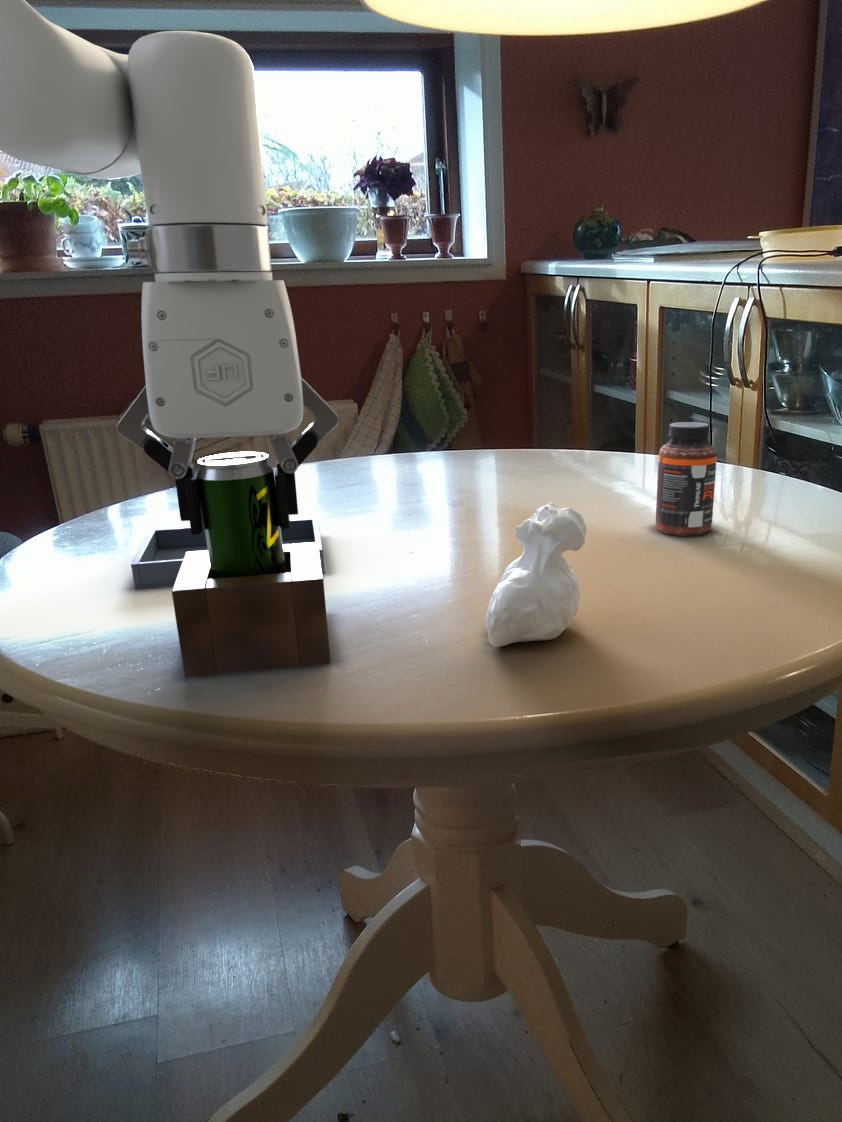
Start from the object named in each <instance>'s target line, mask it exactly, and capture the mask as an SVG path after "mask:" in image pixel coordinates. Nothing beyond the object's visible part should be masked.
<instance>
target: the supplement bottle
mask: <svg viewBox="0 0 842 1122" xmlns="http://www.w3.org/2000/svg"><path fill="white" fill-rule="evenodd" d="M668 430H669V432H668V436H669V438H670V440H669V441H668V442H666V443H665V444H663V445H662V446H661V447H660V449H659V452H658V463H657V481H656V482H657V484H656V502H655V503H656V505H655V528H656V530H658V531H659V532H660V533H663V534H665V535H671V536H678V537H679V536H680V537H695V536H701V535H705V534H707V533H710V531H711V530H712V525H713V524H712V523H713V517H714V502H715V486H716V474H717V473H716V472H717V458H718V452H717V449H716V447H715V446H713V445H712V444H711V442H710V441H709V437H710V425H709V424H708V423H705V422H700V421H699V422H696V421H679V422H672V423H670V424H669V429H668Z"/></svg>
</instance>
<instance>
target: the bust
mask: <svg viewBox="0 0 842 1122" xmlns="http://www.w3.org/2000/svg"><path fill="white" fill-rule="evenodd" d="M585 522H586V521H585V519H584V517H583V515H582V514H581V513H580V512H579V511H578V510H576V509H575V508H573V507H564V508H563V507H560V504H558V503H556V504H555V503H554V502H552V501H550V502H549V503H548V504H546V505H543V506H540V507H537V509H536V510H535V512H534V513H533V514H532V516H530V517H528V519H524V521H523V522H522V523H521V524H520V525H517V526H516V528H515V533H514V537H515V538H516V539H517V541H518V543H519V544H520V545H521V546H522V548H523V552H522V554H521V555H520V556H519V557H518V558H516V559H515V560H513V561H512V562H511V563H509V565H508V566H507V567H505V570H504V572H503V575H502V578H501V579H500V581H499V582H498V583H497V585H496V588H495V589H494V590H493V593H492V595H491V598H490V601H489V604H488V608H487V612H486V616H485V627H486V629H485V630H486V632H487V635H488V642H489V643H490V645H491V646H493V647H495V648H500V647H504V646H508V645H511V644H514V643H525V642H537V641H550V640H551V641H552V640H554V639H556V638H557V637H559V636H560V635H561V634H562V633H563V632H564V631H565V630H567V627H568V626H570V625H571V624H572V622H573V621H574V619H575V617H576V615H577V613H578V611H579V605H580V599H581V592H580V591H581V590H580V589H579V581H578V577H577V575H576V573H575V571H573V569H572V565H571V564H570V561H569V560H568V558H567V557H566V556H565V555H564V554H563V553H565V552H567V551H568V552H569V551H573V552H577V551H579V550H580V549H581V548H582V547H583V546H584V544H585V543H586V535H587V525H586V523H585Z"/></svg>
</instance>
